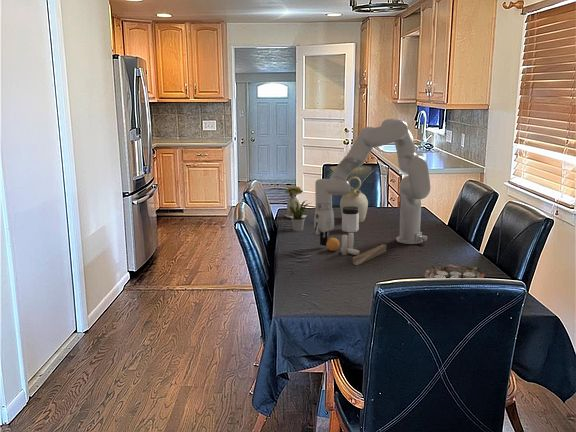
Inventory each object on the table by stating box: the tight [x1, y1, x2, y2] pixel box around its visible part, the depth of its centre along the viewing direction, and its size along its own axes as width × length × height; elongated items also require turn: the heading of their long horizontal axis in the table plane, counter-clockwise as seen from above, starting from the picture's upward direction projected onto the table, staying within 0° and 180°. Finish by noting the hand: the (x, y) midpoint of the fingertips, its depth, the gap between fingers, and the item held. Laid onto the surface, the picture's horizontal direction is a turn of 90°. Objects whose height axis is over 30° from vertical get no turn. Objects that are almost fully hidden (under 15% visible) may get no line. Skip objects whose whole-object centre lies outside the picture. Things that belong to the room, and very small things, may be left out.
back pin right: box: [347, 232, 355, 249], centre depth 238 cm, size 2×2×8 cm
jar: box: [341, 206, 360, 233], centre depth 274 cm, size 9×8×12 cm
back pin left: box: [341, 234, 348, 256], centre depth 234 cm, size 2×2×8 cm
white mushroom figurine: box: [283, 185, 307, 219], centre depth 304 cm, size 12×13×18 cm
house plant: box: [286, 200, 311, 232], centre depth 277 cm, size 14×14×16 cm
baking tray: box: [423, 264, 486, 279], centre depth 197 cm, size 30×22×5 cm
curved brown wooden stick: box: [352, 244, 387, 266], centre depth 229 cm, size 2×24×3 cm, turn 140°
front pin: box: [340, 246, 361, 256], centre depth 236 cm, size 2×2×8 cm
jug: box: [339, 175, 369, 223], centre depth 295 cm, size 15×16×25 cm
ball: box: [326, 237, 341, 252], centre depth 240 cm, size 6×6×6 cm
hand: (323, 244), depth 245 cm, fingers closed
